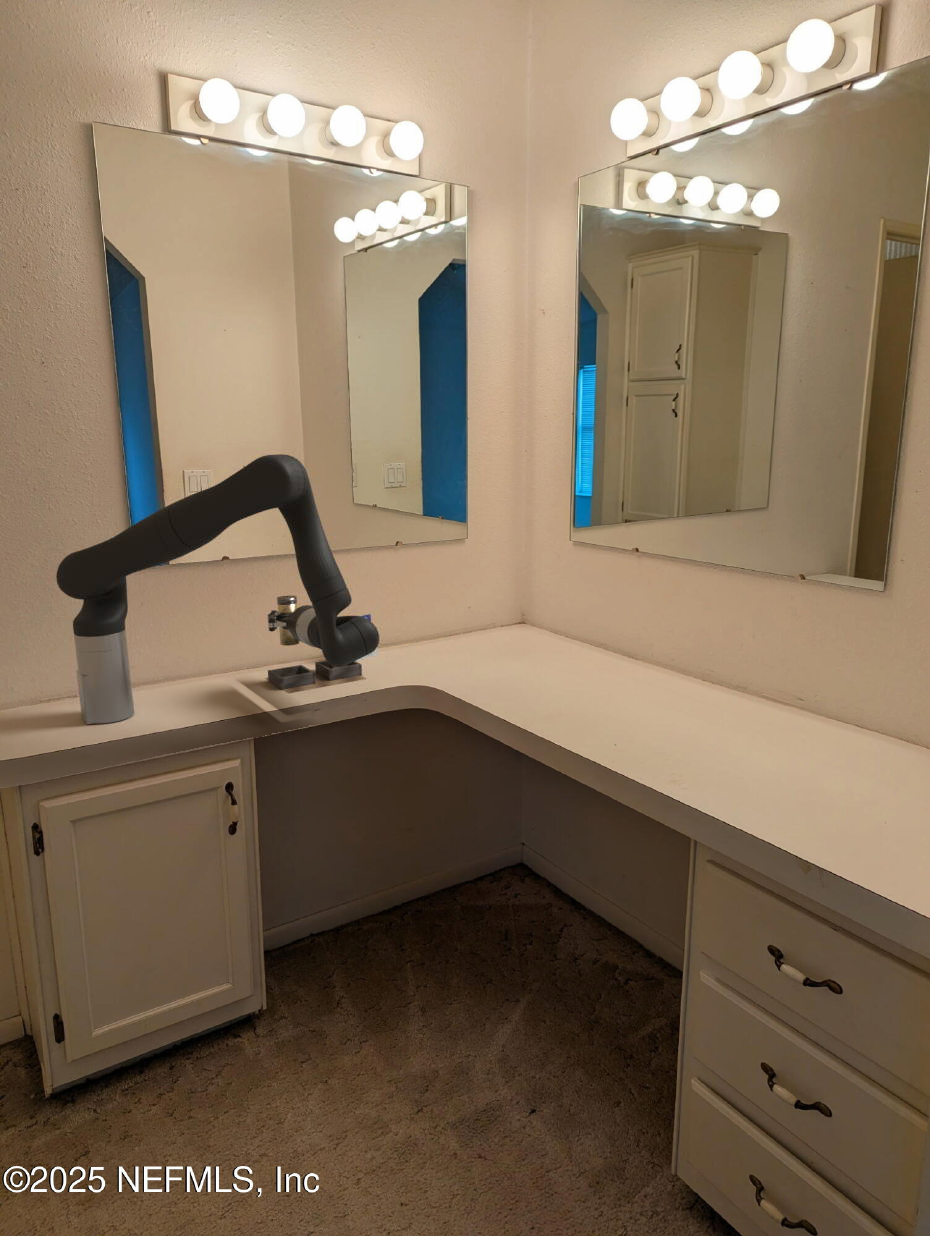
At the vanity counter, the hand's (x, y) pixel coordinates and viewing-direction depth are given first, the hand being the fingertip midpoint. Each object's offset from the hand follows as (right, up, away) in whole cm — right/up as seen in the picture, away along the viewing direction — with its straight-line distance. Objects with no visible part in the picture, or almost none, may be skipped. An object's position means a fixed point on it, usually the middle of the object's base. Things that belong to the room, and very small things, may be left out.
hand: (283, 613), depth 182 cm
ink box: (+14, -12, +20) cm, 27 cm away
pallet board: (+6, -16, +4) cm, 17 cm away
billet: (+2, -6, -1) cm, 7 cm away
